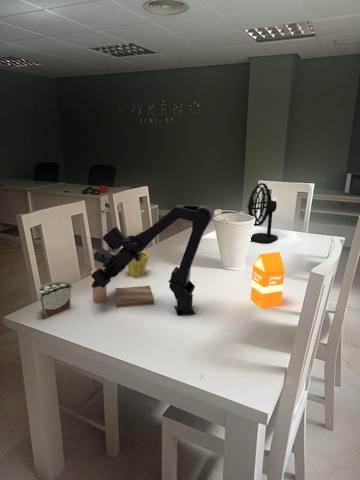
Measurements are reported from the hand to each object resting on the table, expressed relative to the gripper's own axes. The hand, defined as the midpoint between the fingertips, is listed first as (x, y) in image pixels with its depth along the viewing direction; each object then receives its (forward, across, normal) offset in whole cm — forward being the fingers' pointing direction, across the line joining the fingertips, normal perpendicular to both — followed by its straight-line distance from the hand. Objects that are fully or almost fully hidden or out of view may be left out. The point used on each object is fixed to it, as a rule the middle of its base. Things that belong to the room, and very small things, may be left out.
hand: (95, 283), depth 131 cm
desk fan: (-38, -107, +48) cm, 123 cm away
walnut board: (-5, -6, +14) cm, 16 cm away
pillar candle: (+4, 0, +6) cm, 7 cm away
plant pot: (+1, -28, +9) cm, 30 cm away
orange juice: (-40, -14, +49) cm, 65 cm away
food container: (+12, +12, -3) cm, 18 cm away
